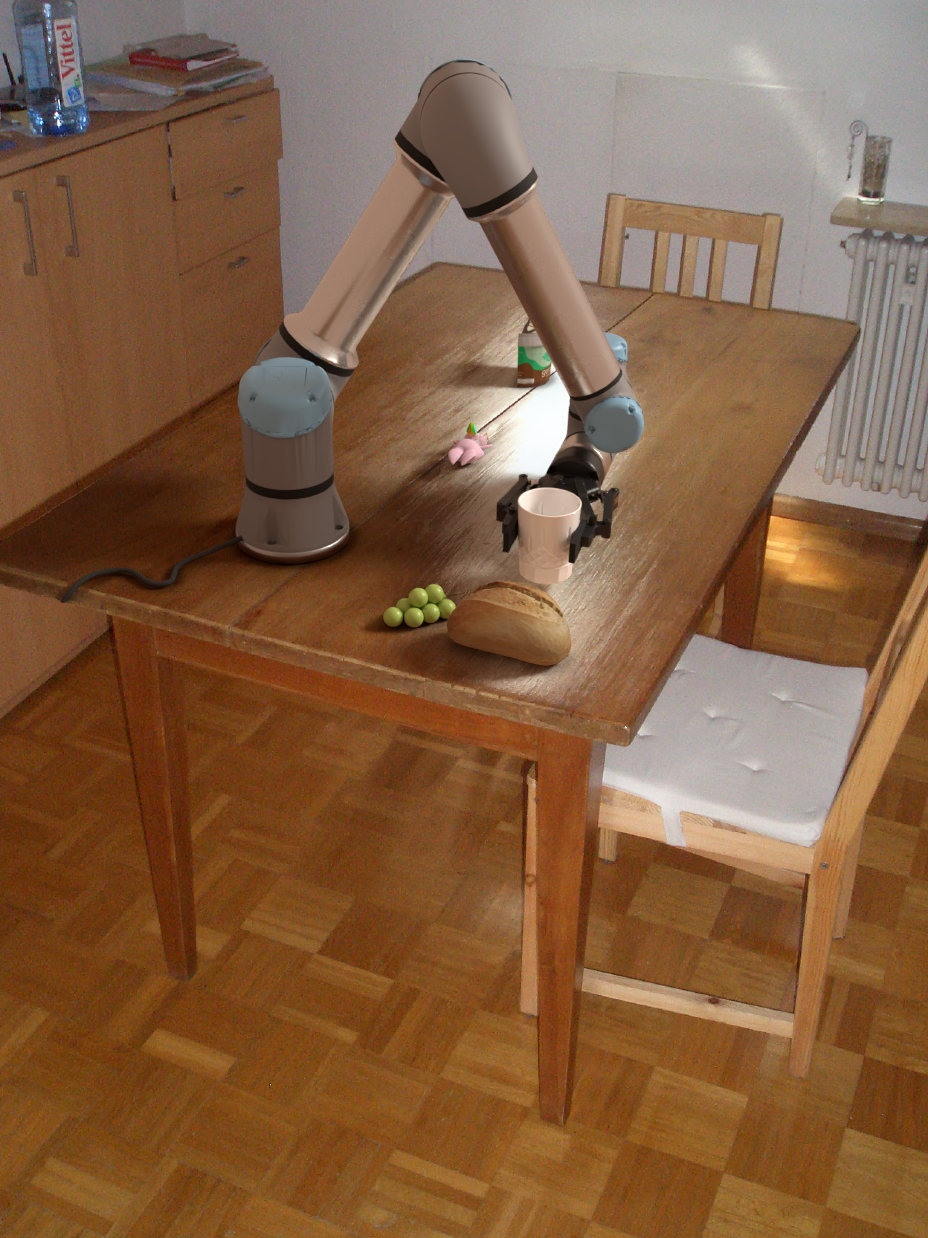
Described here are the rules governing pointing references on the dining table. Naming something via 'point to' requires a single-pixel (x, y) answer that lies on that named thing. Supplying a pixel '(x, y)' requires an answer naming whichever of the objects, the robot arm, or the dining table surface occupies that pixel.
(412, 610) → the grapes
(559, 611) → the bread roll
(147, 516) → the dining table surface
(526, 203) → the robot arm
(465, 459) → the rabbit figure
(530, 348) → the food container
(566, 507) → the white cup
